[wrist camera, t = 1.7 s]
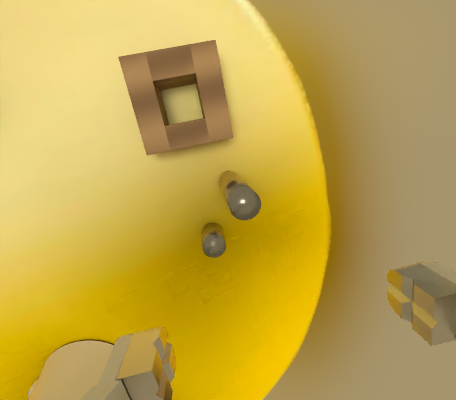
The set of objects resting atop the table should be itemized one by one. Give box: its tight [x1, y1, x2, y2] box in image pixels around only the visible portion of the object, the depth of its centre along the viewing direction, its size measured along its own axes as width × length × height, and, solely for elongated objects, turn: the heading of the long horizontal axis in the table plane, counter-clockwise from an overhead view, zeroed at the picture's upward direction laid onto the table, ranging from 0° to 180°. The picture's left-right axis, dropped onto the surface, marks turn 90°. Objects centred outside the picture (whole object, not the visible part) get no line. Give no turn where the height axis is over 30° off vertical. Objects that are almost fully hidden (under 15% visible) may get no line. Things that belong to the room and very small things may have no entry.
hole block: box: [119, 40, 233, 155], centre depth 28 cm, size 10×10×5 cm
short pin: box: [202, 223, 226, 257], centre depth 33 cm, size 3×3×5 cm
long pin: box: [219, 171, 261, 220], centre depth 28 cm, size 3×3×12 cm
